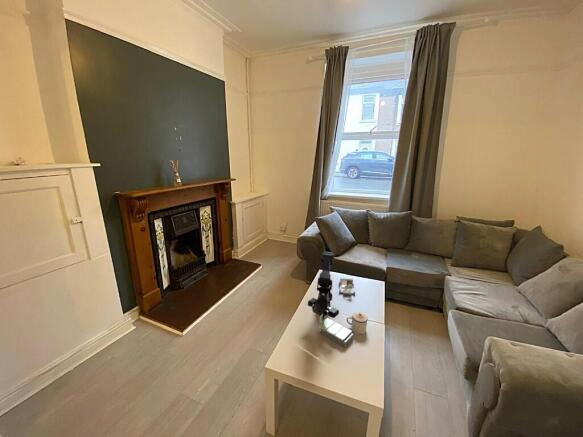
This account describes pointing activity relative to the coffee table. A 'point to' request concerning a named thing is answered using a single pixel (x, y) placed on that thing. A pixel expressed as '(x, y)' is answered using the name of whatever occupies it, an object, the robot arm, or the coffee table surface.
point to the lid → (334, 328)
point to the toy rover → (346, 286)
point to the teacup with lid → (358, 322)
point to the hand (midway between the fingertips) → (322, 319)
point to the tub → (337, 340)
